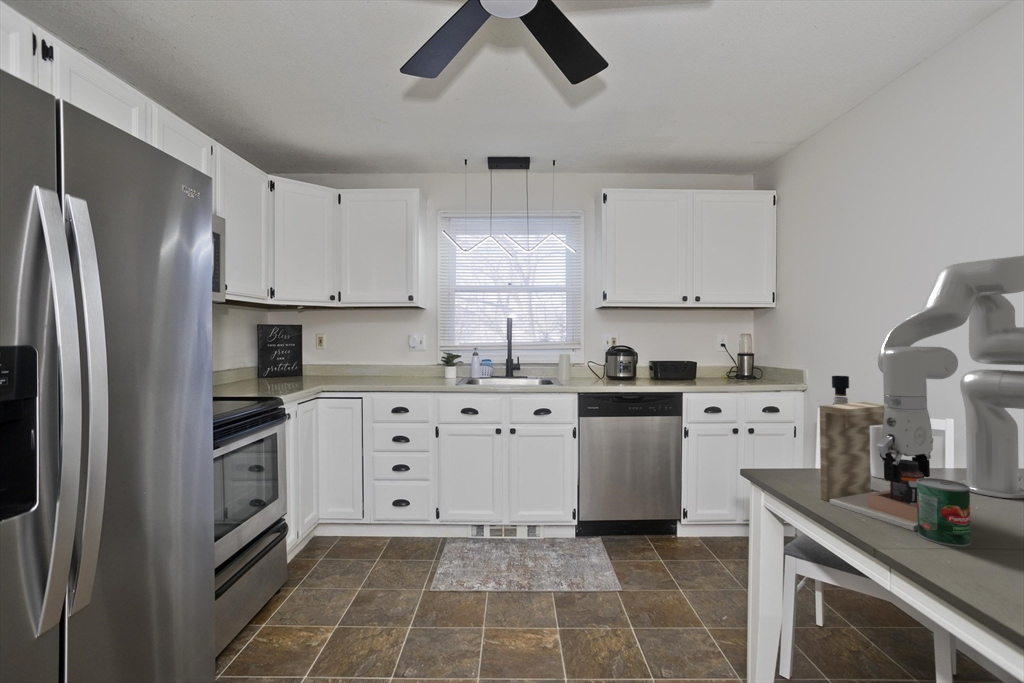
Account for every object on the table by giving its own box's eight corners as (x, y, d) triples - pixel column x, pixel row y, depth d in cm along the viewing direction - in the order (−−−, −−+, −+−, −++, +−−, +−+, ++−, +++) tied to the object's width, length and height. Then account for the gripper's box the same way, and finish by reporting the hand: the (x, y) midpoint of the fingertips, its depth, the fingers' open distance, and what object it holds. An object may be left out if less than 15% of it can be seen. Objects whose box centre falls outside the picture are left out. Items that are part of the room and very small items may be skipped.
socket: (874, 495, 120) (874, 479, 120) (961, 520, 104) (960, 501, 104) (829, 503, 115) (829, 487, 115) (913, 530, 98) (913, 511, 98)
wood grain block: (864, 491, 124) (863, 402, 124) (894, 499, 117) (892, 405, 117) (820, 499, 118) (819, 405, 118) (849, 508, 112) (847, 409, 112)
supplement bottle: (924, 517, 102) (923, 465, 102) (889, 511, 107) (888, 461, 107) (925, 510, 107) (924, 460, 107) (891, 504, 111) (891, 456, 111)
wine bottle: (828, 480, 134) (826, 375, 134) (856, 484, 130) (854, 375, 130) (827, 486, 129) (825, 376, 129) (856, 490, 125) (854, 377, 125)
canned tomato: (965, 550, 89) (964, 492, 89) (912, 537, 95) (911, 482, 95) (975, 539, 93) (974, 484, 94) (923, 527, 100) (922, 475, 100)
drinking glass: (903, 481, 132) (902, 427, 132) (875, 480, 134) (874, 427, 134) (888, 474, 139) (888, 423, 139) (863, 473, 140) (862, 423, 140)
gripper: (897, 408, 100) (900, 488, 100) (949, 402, 106) (951, 478, 106) (861, 404, 107) (863, 478, 107) (911, 398, 113) (913, 469, 113)
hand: (907, 478), depth 107 cm, fingers open, 9 cm apart
